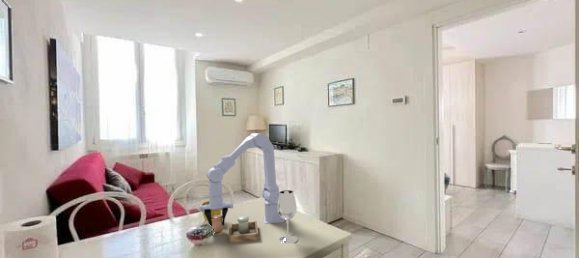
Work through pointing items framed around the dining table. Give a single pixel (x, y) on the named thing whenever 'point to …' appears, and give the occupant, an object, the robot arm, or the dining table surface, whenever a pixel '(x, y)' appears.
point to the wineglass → (287, 212)
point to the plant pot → (213, 212)
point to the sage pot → (243, 224)
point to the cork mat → (220, 232)
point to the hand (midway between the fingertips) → (217, 225)
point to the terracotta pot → (217, 223)
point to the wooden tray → (241, 237)
